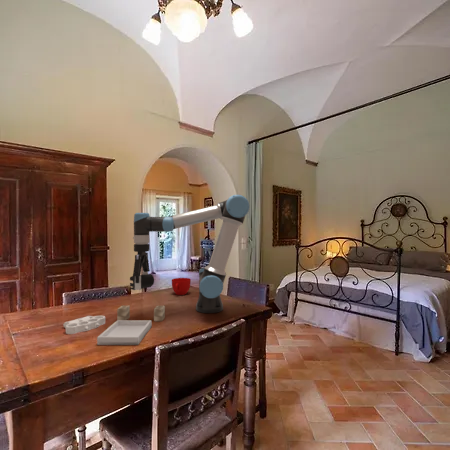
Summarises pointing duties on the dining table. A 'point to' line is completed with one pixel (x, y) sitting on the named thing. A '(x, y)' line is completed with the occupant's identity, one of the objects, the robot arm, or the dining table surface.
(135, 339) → the tray
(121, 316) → the block
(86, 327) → the muffin pan
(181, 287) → the ceramic cup
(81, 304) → the dining table surface
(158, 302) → the dining table surface
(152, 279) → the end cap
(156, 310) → the block
